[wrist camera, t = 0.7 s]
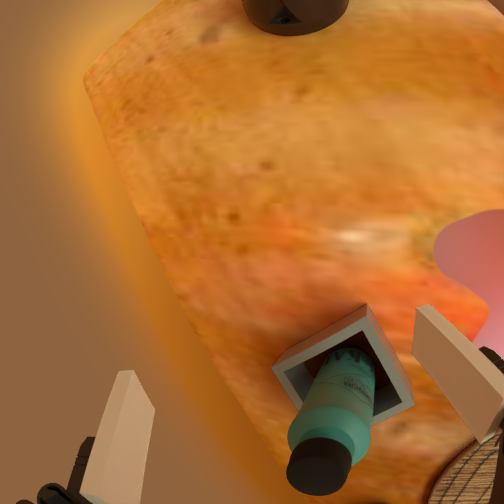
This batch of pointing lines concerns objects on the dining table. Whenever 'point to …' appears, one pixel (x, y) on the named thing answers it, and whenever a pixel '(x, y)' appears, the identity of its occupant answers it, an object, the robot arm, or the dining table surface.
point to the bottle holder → (291, 361)
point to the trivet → (468, 475)
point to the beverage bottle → (332, 423)
